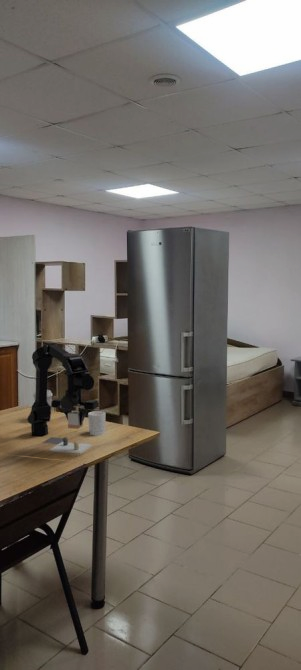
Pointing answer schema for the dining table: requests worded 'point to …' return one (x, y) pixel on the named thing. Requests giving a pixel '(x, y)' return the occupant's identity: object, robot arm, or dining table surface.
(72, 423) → the sleeve
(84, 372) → the robot arm
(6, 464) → the dining table surface
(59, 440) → the mat
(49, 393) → the coffee cup
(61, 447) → the pin board
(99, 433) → the white cup
